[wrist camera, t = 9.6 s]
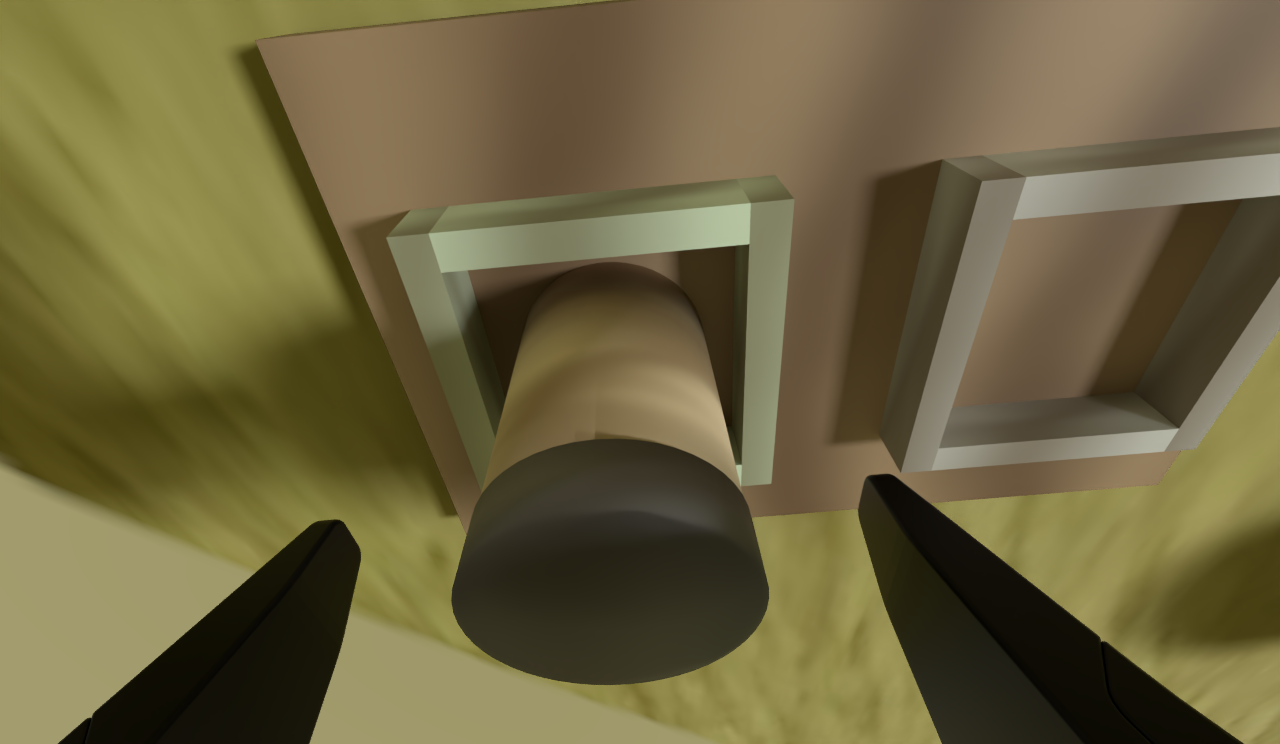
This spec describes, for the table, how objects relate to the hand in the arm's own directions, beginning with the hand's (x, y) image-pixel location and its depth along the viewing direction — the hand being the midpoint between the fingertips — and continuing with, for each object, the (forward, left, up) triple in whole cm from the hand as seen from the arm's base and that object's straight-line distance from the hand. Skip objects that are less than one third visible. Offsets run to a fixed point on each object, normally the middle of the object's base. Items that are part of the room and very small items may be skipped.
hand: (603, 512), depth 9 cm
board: (-6, 0, -6) cm, 8 cm away
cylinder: (0, 0, -5) cm, 5 cm away
